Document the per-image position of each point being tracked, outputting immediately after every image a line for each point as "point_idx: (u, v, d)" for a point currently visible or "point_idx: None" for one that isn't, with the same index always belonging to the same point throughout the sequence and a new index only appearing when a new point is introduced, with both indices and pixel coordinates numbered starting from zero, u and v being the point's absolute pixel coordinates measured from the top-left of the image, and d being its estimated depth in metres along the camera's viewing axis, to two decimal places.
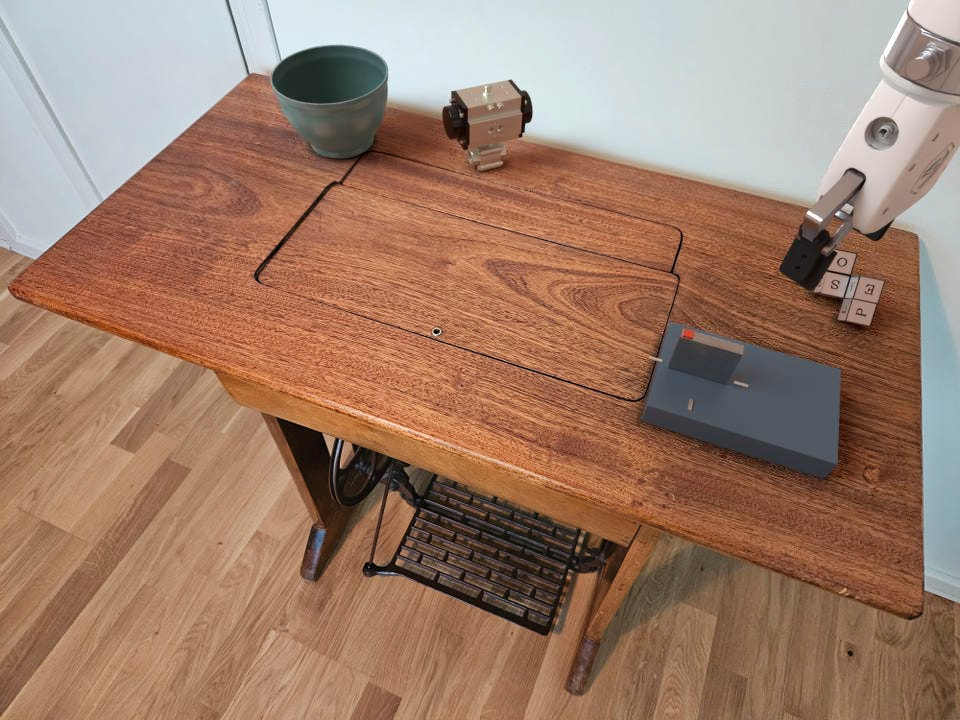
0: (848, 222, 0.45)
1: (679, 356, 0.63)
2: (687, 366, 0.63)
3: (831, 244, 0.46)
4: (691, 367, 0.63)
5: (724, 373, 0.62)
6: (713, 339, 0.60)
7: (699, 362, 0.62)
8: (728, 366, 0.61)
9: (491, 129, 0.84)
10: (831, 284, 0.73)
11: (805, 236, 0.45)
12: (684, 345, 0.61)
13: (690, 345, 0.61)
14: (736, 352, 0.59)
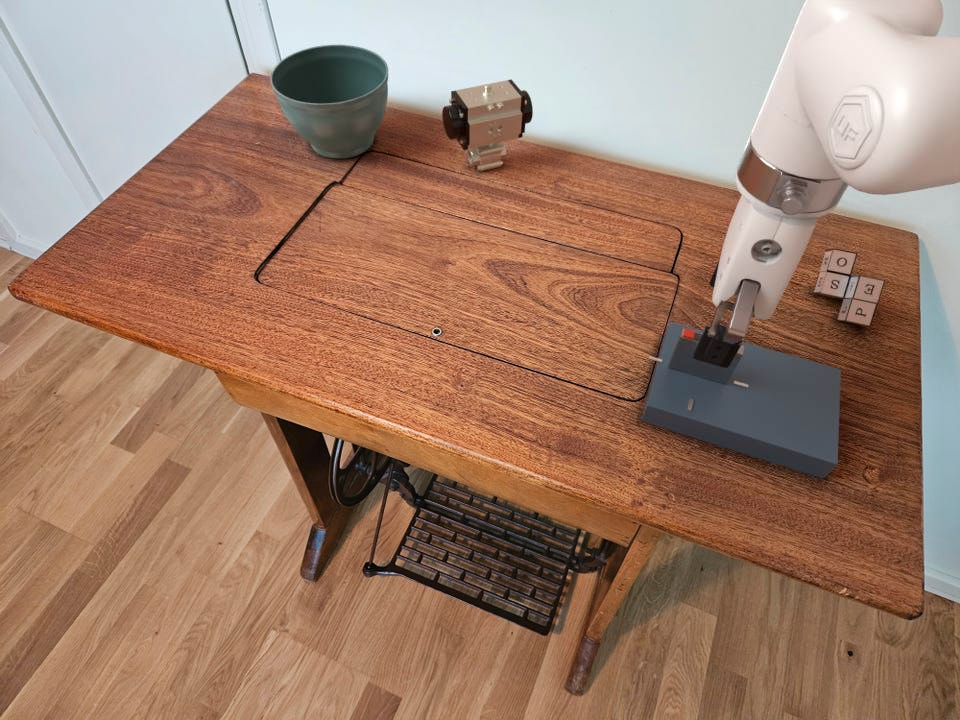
0: None
1: (679, 356, 0.63)
2: (687, 366, 0.63)
3: None
4: (691, 367, 0.63)
5: (724, 373, 0.62)
6: None
7: (699, 362, 0.62)
8: None
9: (491, 129, 0.84)
10: (830, 284, 0.73)
11: (726, 341, 0.49)
12: (684, 345, 0.61)
13: (690, 345, 0.61)
14: None
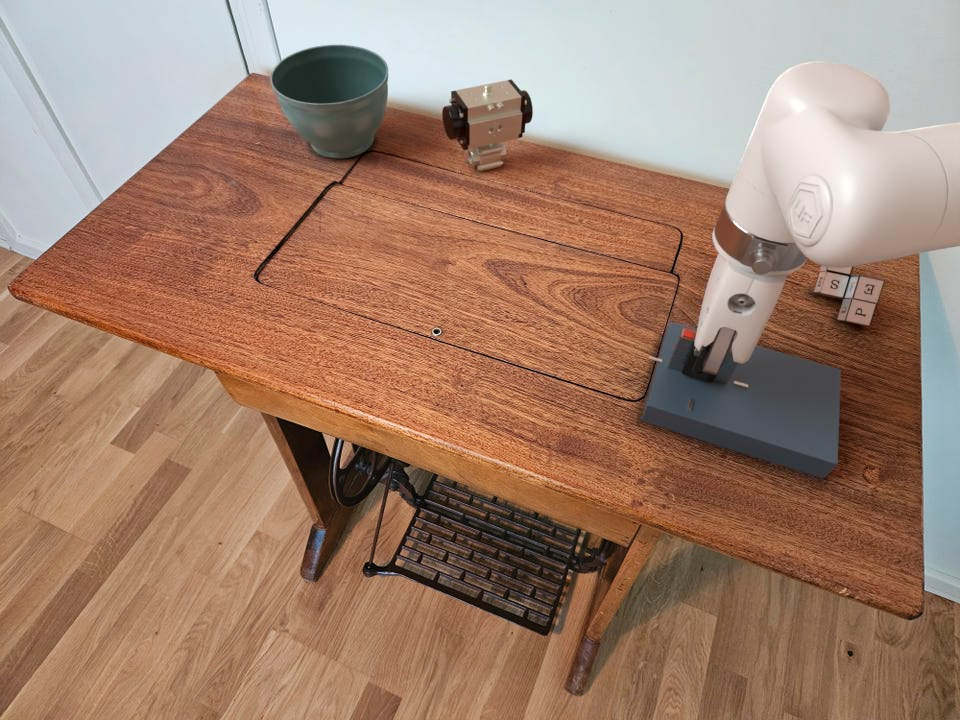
0: None
1: (679, 356, 0.63)
2: None
3: None
4: None
5: (724, 373, 0.62)
6: None
7: None
8: (728, 366, 0.61)
9: (491, 129, 0.84)
10: (830, 284, 0.73)
11: None
12: (684, 345, 0.61)
13: (690, 345, 0.61)
14: None
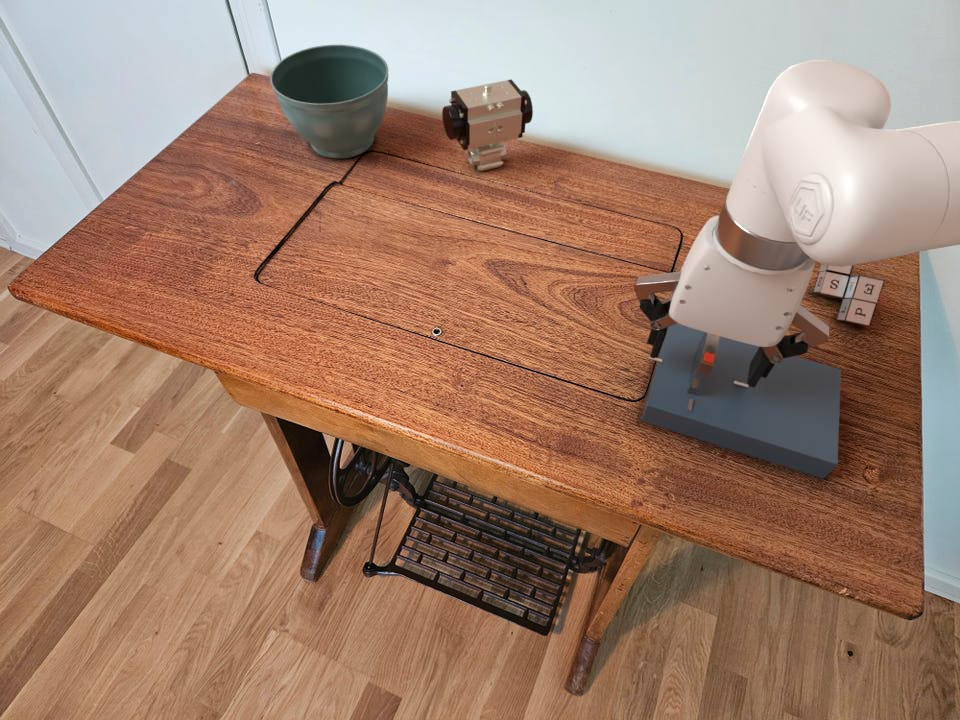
0: None
1: None
2: None
3: None
4: None
5: None
6: (709, 339, 0.60)
7: None
8: None
9: (491, 129, 0.84)
10: (830, 284, 0.73)
11: None
12: None
13: None
14: None
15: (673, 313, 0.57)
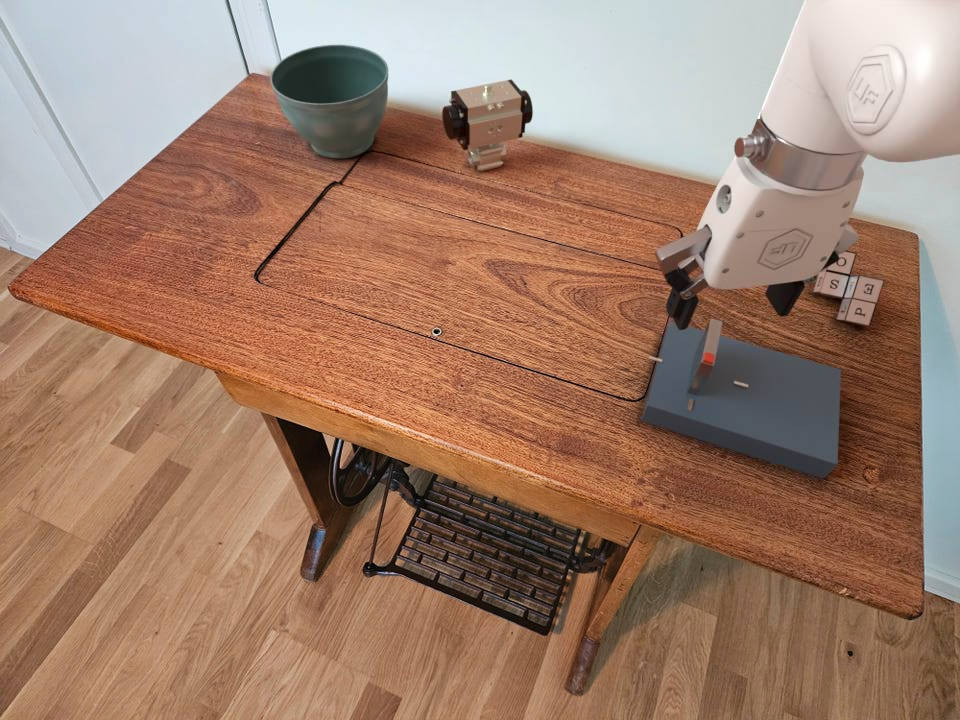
0: None
1: None
2: None
3: (686, 288, 0.51)
4: None
5: None
6: (709, 339, 0.60)
7: None
8: None
9: (491, 129, 0.84)
10: (830, 284, 0.73)
11: (662, 273, 0.51)
12: None
13: None
14: (721, 326, 0.61)
15: None
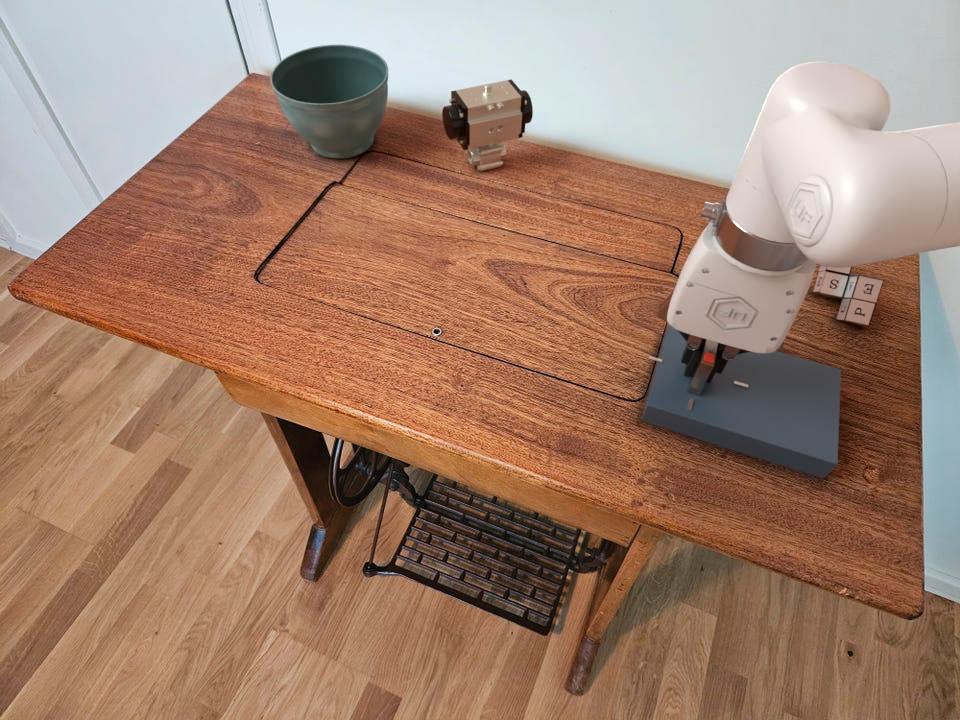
0: None
1: None
2: None
3: (687, 341, 0.60)
4: None
5: None
6: None
7: None
8: None
9: (491, 129, 0.84)
10: (830, 284, 0.73)
11: None
12: None
13: None
14: None
15: None
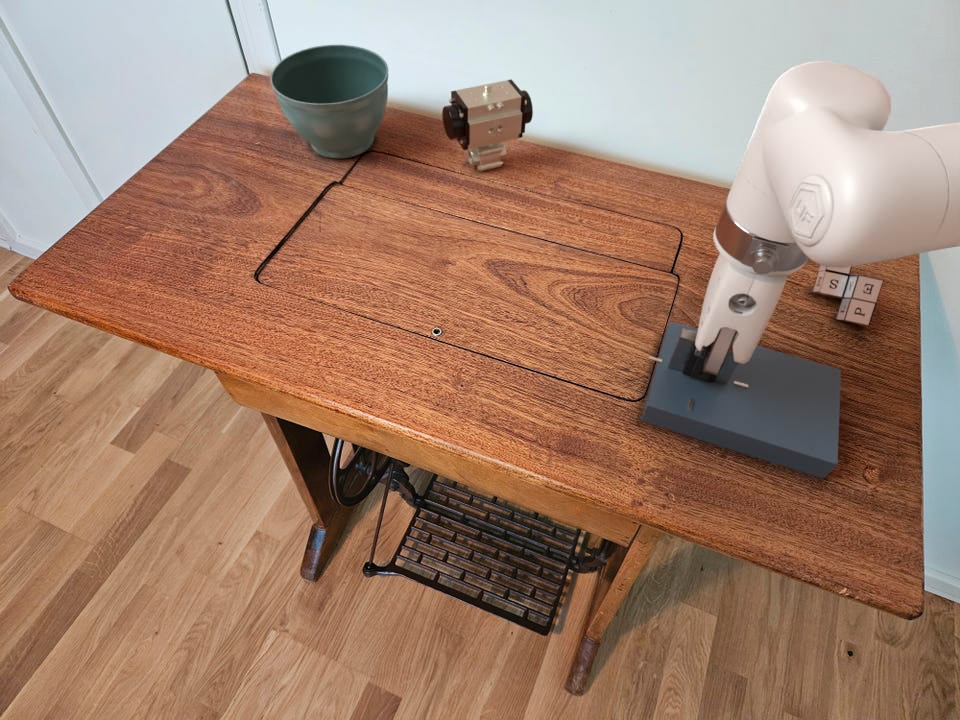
0: None
1: None
2: None
3: None
4: None
5: None
6: None
7: None
8: None
9: (491, 129, 0.84)
10: (829, 284, 0.73)
11: None
12: None
13: None
14: (688, 330, 0.61)
15: None
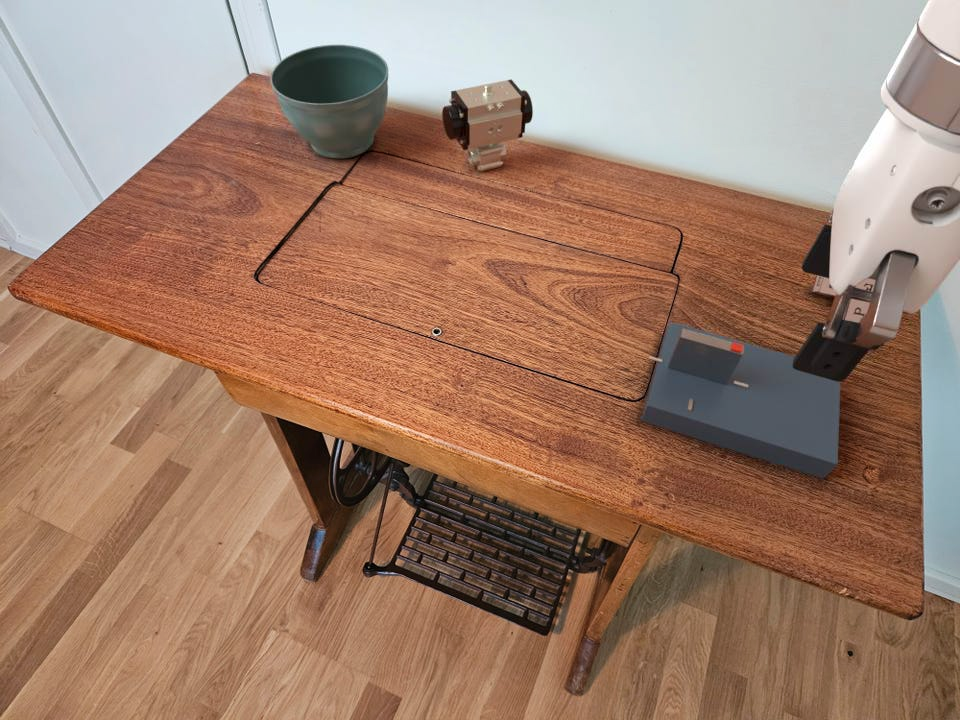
0: None
1: None
2: None
3: None
4: None
5: None
6: (711, 343, 0.60)
7: None
8: None
9: (491, 129, 0.84)
10: (829, 284, 0.73)
11: (858, 344, 0.34)
12: None
13: None
14: (688, 330, 0.61)
15: (842, 187, 0.40)
